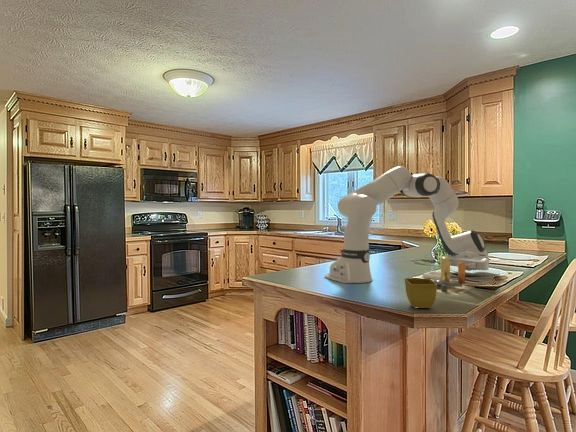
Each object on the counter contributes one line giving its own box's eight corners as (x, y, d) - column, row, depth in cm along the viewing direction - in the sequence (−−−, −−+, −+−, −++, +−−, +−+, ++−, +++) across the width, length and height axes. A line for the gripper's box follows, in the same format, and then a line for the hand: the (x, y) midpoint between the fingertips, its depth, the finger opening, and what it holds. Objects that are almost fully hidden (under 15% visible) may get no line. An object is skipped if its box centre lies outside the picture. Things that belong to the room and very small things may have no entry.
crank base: (412, 288, 146) (412, 281, 146) (431, 281, 158) (431, 274, 158) (457, 296, 133) (457, 289, 133) (475, 288, 145) (475, 281, 145)
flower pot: (429, 303, 126) (430, 278, 125) (437, 311, 117) (437, 284, 117) (404, 303, 127) (404, 278, 126) (410, 311, 118) (410, 284, 118)
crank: (433, 285, 144) (433, 262, 143) (433, 282, 148) (433, 260, 148) (465, 287, 140) (465, 264, 139) (464, 285, 144) (464, 262, 143)
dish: (422, 278, 164) (422, 273, 164) (431, 275, 170) (431, 270, 170) (442, 281, 157) (442, 276, 157) (450, 278, 163) (451, 273, 163)
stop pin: (439, 283, 151) (439, 257, 151) (442, 282, 154) (443, 256, 153) (447, 285, 149) (447, 258, 148) (451, 283, 151) (451, 257, 150)
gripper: (446, 251, 176) (433, 255, 166) (492, 256, 161) (481, 260, 151) (446, 264, 176) (433, 268, 167) (492, 270, 161) (481, 275, 152)
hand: (456, 264), depth 159 cm, fingers open, 8 cm apart
